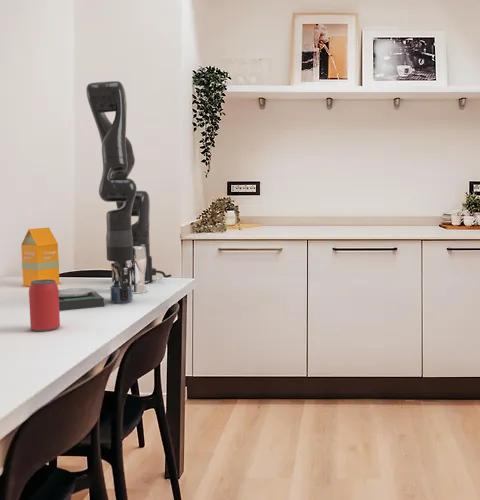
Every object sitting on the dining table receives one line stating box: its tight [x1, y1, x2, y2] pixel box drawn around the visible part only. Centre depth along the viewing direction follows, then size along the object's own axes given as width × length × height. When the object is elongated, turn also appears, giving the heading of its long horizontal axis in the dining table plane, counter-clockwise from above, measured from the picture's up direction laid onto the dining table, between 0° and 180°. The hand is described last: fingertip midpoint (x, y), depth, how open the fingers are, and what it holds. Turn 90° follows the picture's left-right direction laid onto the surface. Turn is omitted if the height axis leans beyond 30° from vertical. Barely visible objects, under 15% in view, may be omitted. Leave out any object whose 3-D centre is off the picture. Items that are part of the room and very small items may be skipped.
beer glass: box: [126, 246, 147, 294], centre depth 203 cm, size 7×7×15 cm
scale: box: [59, 291, 105, 312], centre depth 183 cm, size 13×15×3 cm
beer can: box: [28, 279, 61, 332], centre depth 152 cm, size 7×7×12 cm
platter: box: [58, 287, 96, 297], centre depth 183 cm, size 11×11×1 cm
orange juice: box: [20, 227, 61, 287], centre depth 215 cm, size 8×9×20 cm
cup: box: [109, 284, 134, 305], centre depth 187 cm, size 6×6×5 cm
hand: (121, 298), depth 187 cm, fingers closed on cup, 6 cm apart
